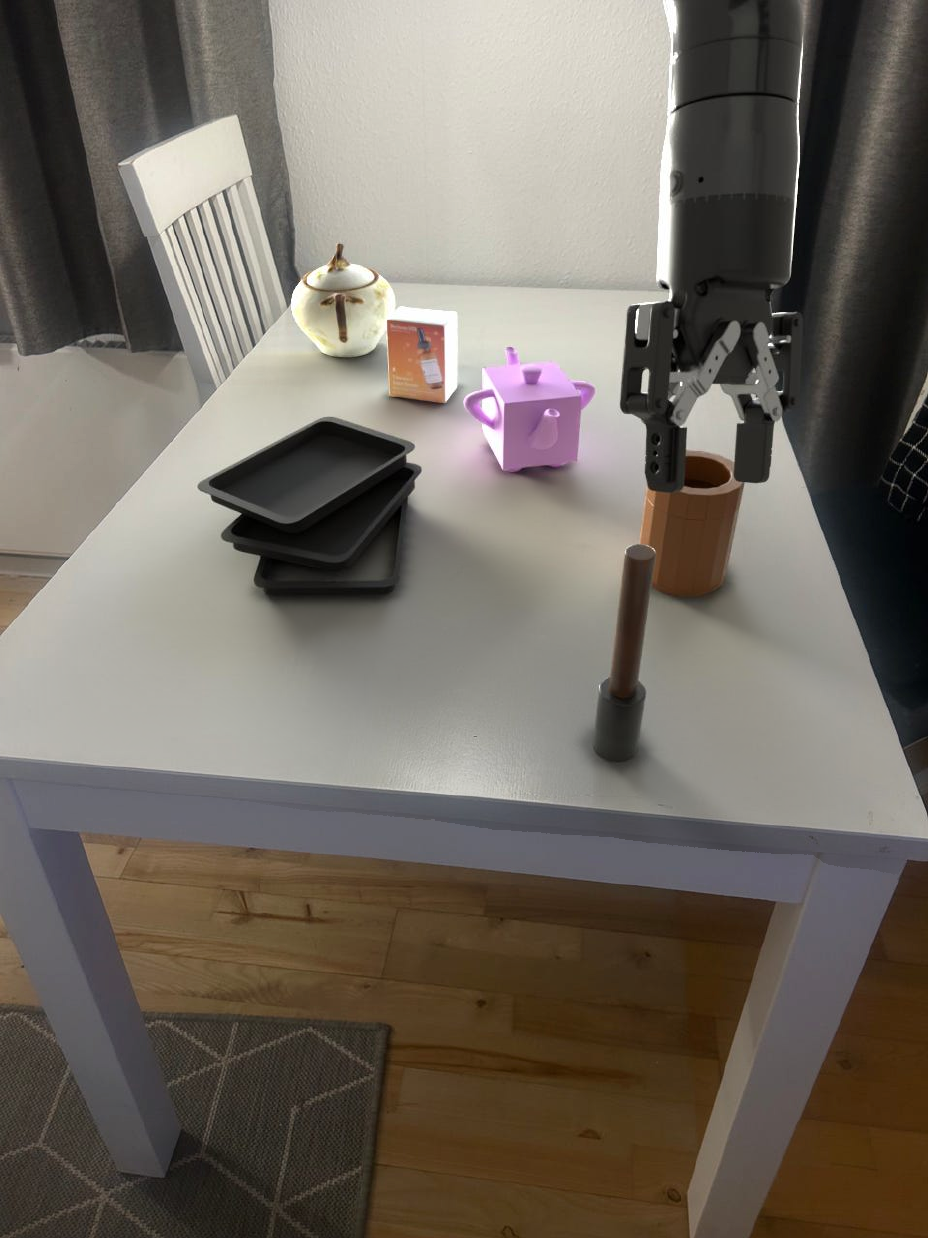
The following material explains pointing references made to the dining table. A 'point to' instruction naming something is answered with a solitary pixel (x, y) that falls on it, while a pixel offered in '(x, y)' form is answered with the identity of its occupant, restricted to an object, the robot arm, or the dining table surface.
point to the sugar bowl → (343, 307)
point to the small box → (422, 354)
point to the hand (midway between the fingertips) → (710, 486)
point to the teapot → (530, 412)
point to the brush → (626, 662)
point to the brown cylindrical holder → (693, 526)
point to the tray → (317, 502)
